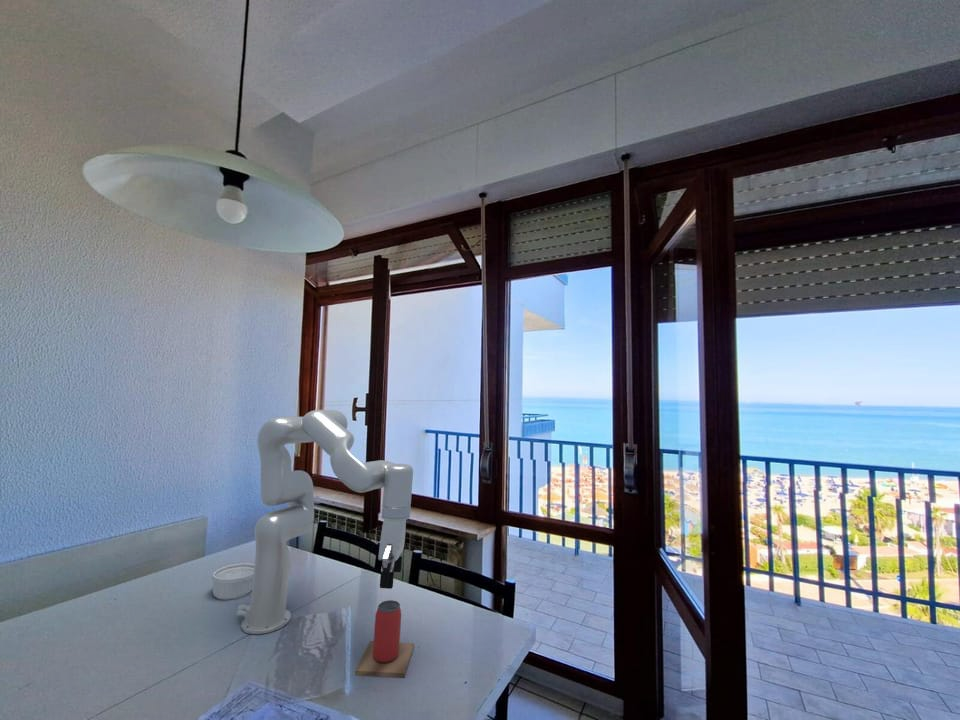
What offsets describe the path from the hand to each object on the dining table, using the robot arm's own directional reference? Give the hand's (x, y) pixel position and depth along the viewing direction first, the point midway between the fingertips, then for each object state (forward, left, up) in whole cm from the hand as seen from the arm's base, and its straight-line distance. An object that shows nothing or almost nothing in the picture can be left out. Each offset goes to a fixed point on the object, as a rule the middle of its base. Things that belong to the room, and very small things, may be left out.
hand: (390, 579), depth 100 cm
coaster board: (0, 0, -19) cm, 19 cm away
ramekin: (-60, +31, -20) cm, 70 cm away
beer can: (0, 0, -19) cm, 19 cm away
